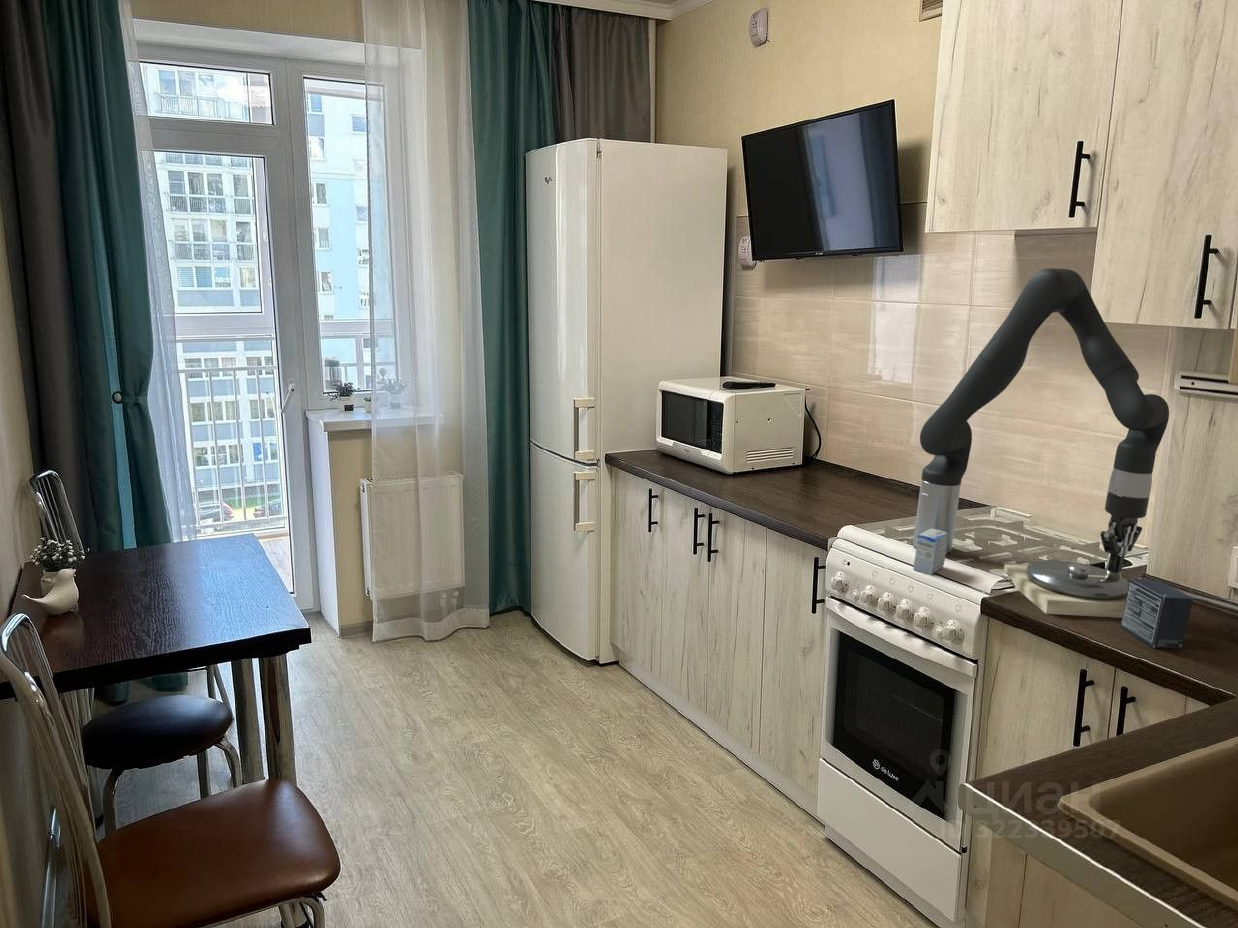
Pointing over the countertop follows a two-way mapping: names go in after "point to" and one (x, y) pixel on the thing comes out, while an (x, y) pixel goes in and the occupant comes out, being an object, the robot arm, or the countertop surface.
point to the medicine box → (930, 551)
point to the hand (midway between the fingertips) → (1114, 572)
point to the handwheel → (1078, 579)
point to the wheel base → (1062, 598)
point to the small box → (1156, 613)
